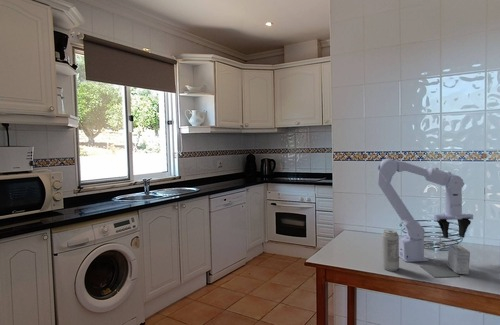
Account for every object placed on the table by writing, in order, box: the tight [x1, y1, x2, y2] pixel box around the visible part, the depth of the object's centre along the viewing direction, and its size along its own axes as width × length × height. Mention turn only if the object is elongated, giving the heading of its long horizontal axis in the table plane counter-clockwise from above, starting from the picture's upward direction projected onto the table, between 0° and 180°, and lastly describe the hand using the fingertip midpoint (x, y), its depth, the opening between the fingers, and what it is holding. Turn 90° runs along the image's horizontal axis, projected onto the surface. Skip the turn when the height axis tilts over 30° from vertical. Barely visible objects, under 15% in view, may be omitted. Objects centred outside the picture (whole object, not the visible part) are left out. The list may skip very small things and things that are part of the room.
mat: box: [419, 264, 461, 279], centre depth 123 cm, size 9×11×1 cm
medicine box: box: [447, 244, 471, 275], centre depth 122 cm, size 8×4×9 cm, turn 169°
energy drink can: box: [381, 229, 400, 272], centre depth 127 cm, size 6×6×15 cm
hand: (453, 237), depth 132 cm, fingers open, 6 cm apart
